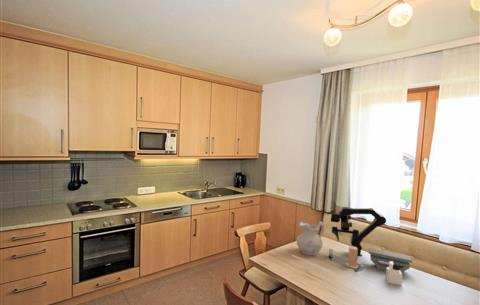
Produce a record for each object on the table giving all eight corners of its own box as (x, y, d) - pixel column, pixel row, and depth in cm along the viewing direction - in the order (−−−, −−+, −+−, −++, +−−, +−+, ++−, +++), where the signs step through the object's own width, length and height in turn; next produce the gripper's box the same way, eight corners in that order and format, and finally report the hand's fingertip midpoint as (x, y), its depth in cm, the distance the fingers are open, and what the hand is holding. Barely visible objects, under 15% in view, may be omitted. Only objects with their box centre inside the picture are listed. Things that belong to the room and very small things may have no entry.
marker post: (347, 262, 175) (349, 245, 175) (355, 263, 174) (356, 247, 173) (348, 265, 170) (349, 248, 170) (356, 267, 169) (357, 249, 168)
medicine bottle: (398, 280, 156) (399, 261, 156) (401, 285, 149) (403, 266, 149) (385, 277, 158) (386, 259, 158) (388, 283, 152) (389, 264, 151)
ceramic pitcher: (311, 247, 204) (310, 217, 206) (330, 255, 188) (329, 222, 189) (291, 252, 193) (291, 220, 195) (310, 260, 177) (309, 225, 178)
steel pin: (329, 255, 186) (330, 247, 185) (332, 257, 184) (333, 248, 184) (328, 256, 184) (328, 248, 184) (331, 257, 182) (331, 249, 182)
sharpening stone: (409, 271, 168) (410, 256, 168) (411, 276, 161) (412, 260, 161) (368, 262, 179) (369, 247, 179) (368, 266, 172) (369, 251, 172)
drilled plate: (332, 255, 189) (332, 253, 189) (363, 266, 172) (363, 265, 172) (324, 259, 181) (324, 257, 181) (356, 271, 164) (356, 270, 164)
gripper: (332, 216, 188) (332, 234, 178) (359, 219, 182) (360, 239, 172) (331, 223, 196) (331, 241, 186) (357, 226, 190) (358, 246, 180)
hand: (345, 242), depth 181 cm, fingers open, 9 cm apart
